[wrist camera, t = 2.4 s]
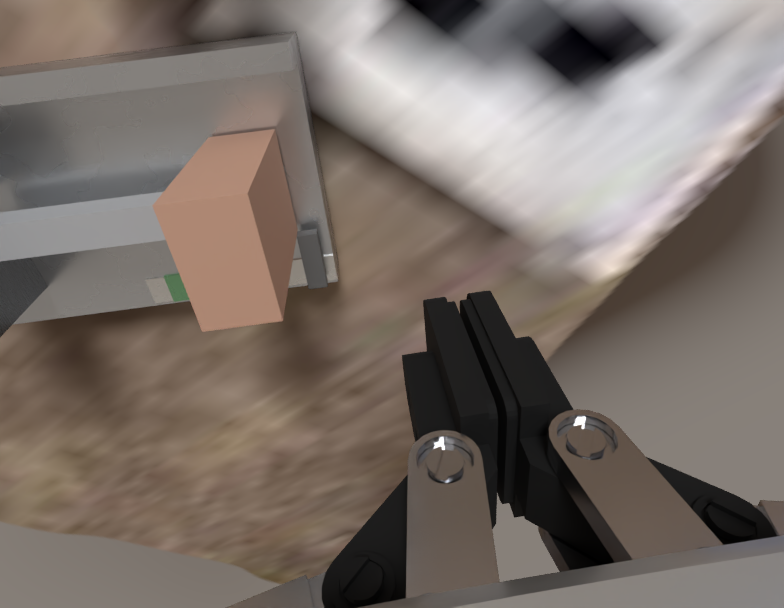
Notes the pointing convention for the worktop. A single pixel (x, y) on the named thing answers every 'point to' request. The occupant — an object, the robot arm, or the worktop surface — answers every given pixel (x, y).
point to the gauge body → (143, 158)
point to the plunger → (196, 230)
